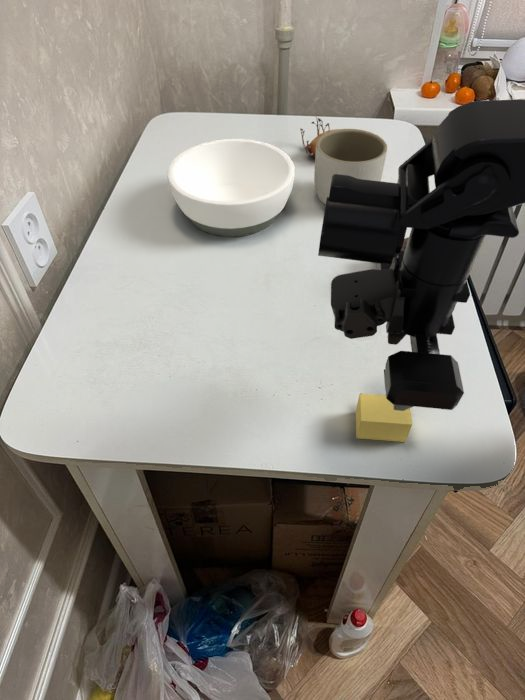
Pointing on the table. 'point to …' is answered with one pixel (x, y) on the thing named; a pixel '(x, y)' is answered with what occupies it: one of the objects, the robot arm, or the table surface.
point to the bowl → (231, 185)
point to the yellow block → (381, 419)
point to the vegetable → (312, 146)
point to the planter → (348, 157)
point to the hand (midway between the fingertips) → (395, 374)
